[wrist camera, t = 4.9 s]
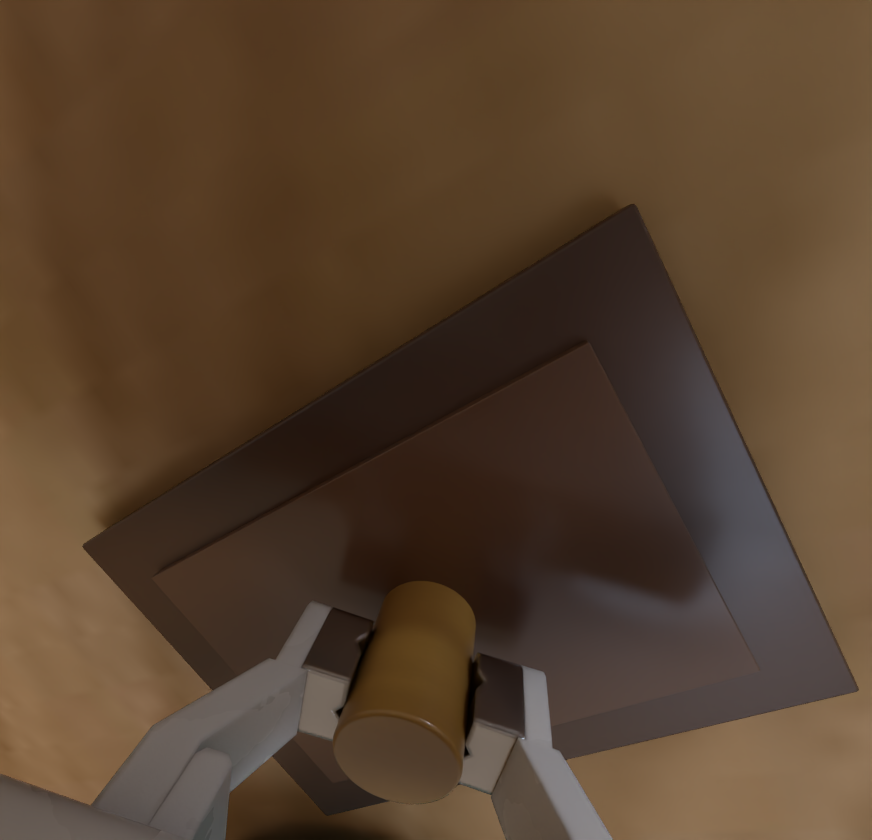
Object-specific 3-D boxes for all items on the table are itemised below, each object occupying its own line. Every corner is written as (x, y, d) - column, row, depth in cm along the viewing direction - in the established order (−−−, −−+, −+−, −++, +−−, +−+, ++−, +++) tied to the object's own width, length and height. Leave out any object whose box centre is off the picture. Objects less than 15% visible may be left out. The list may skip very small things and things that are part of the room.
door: (104, 530, 13) (-81, 652, 9) (624, 206, 8) (739, 152, 4) (335, 790, 16) (272, 979, 11) (836, 662, 11) (1039, 909, 7)
